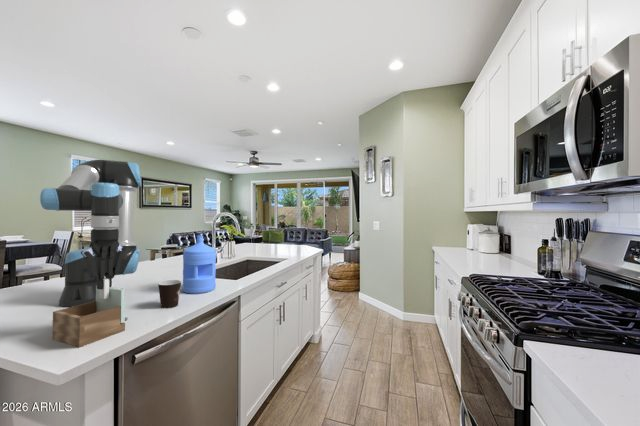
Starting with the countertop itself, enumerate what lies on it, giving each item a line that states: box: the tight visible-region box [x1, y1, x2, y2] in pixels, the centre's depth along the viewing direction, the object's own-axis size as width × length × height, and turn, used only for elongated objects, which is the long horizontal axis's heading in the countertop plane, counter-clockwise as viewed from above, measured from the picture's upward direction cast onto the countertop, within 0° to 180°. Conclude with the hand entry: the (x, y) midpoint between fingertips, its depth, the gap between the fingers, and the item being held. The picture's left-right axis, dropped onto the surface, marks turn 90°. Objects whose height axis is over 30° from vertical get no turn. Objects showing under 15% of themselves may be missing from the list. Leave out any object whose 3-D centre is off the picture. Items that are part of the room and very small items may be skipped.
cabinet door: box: [96, 286, 129, 323], centre depth 96 cm, size 2×14×11 cm, turn 68°
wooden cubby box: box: [52, 301, 126, 348], centre depth 90 cm, size 14×13×8 cm
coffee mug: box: [157, 279, 182, 309], centre depth 119 cm, size 12×9×10 cm
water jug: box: [182, 235, 217, 295], centre depth 142 cm, size 16×16×28 cm
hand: (104, 297), depth 93 cm, fingers closed
